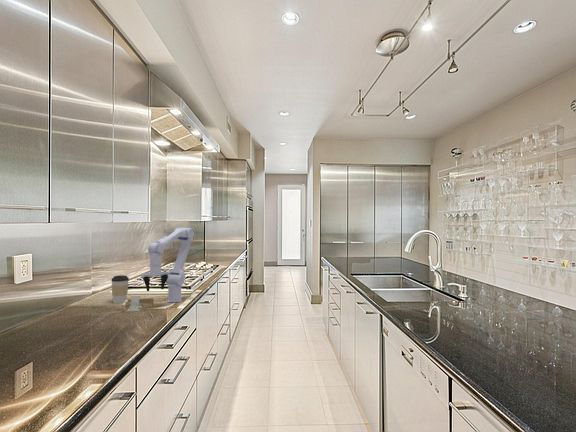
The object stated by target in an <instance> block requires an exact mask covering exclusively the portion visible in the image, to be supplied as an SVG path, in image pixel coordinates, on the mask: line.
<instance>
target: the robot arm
mask: <svg viewBox="0 0 576 432" xmlns="http://www.w3.org/2000/svg"><path fill="white" fill-rule="evenodd" d="M194 236H195V232H194V229H193V228H192V227H176V228H174V231H173V232H172V233H170V234H169V235H168V236H166V235H164V236H162V237H161V238H160V239H158V240H156V241H155V242H151V243H150V244H149V245H148V247H147V251H148V254H149V257H150V259H149V260H150V261H149V272H146V273H141V274H140V278H141V279H142V280H143V283H144V284H145V288H146V291H147V292H150V281H151V279H150V278H153V277H160V282H161V283H160V289H161V290H164V288H165V285H167V286H168V288H167V289H168V290H167V291H168V292H167V297H168V298H167V299H166V303H181V302H182V301H183V299H182V298H183V297H182V286H183V285H184V283H185V280H186V279H185V277H186V273H185V272H184V267H185V264H186V261H187V257H188V254H189V251H190V248H191V245H192V242H193V239H194ZM176 239H177V240H178V241H179V243H181V244H180V247H179V250H178V253H177V256H176V258H175V259H176V260H175V262H174V266H173V268H172V269H170V270H169V271H167V270H166V271H162V253H164V252H165V249H166V248H168V247H169V246H171V244H172V242H173V241H175V240H176Z"/></svg>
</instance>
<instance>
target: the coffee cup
mask: <svg viewBox="0 0 576 432" xmlns="http://www.w3.org/2000/svg"><path fill="white" fill-rule="evenodd" d="M129 280H130V278H129V276H128V275H126V274H125V275H114V276H113V277H112V278H111V295H112V303H113V304H123V303H124V302H125V300H126V299H128V291H129Z"/></svg>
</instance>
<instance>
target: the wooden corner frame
mask: <svg viewBox="0 0 576 432" xmlns="http://www.w3.org/2000/svg"><path fill="white" fill-rule="evenodd" d="M153 305H154V297H148V298H147V297H146V298H145V297H144V298H140V307H139V309H138V310H137V311H136V312H140V311H141V309H142V307H143V306H153ZM130 306H131V298H127V299H126V300H125V302H124V303H121V310H120V311H121V313H125V312H127V313H129V312H131V311H130ZM128 307H129V308H128ZM127 308H128V309H127ZM126 310H127V311H126Z"/></svg>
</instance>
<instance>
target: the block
mask: <svg viewBox="0 0 576 432" xmlns="http://www.w3.org/2000/svg"><path fill="white" fill-rule="evenodd" d="M130 299H131V306H129V307H130V312H138V311H137V310H138V309H139V307H140V306H141V305H140V299H141V297H140V295H131V297H130Z"/></svg>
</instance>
